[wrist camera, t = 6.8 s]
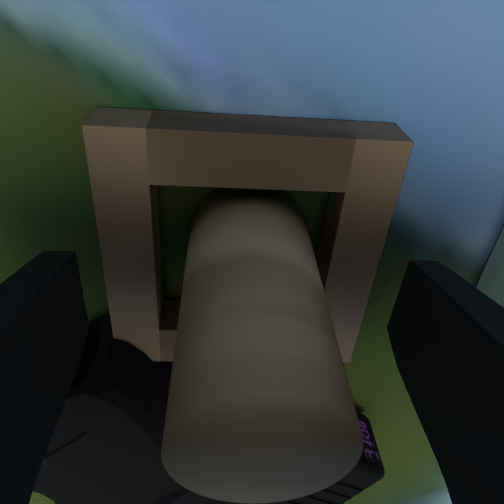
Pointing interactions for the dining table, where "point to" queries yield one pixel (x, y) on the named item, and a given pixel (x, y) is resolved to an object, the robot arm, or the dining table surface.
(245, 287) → the dowel
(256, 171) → the socket
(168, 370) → the handgun
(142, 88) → the dining table surface
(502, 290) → the tray
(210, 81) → the dining table surface
